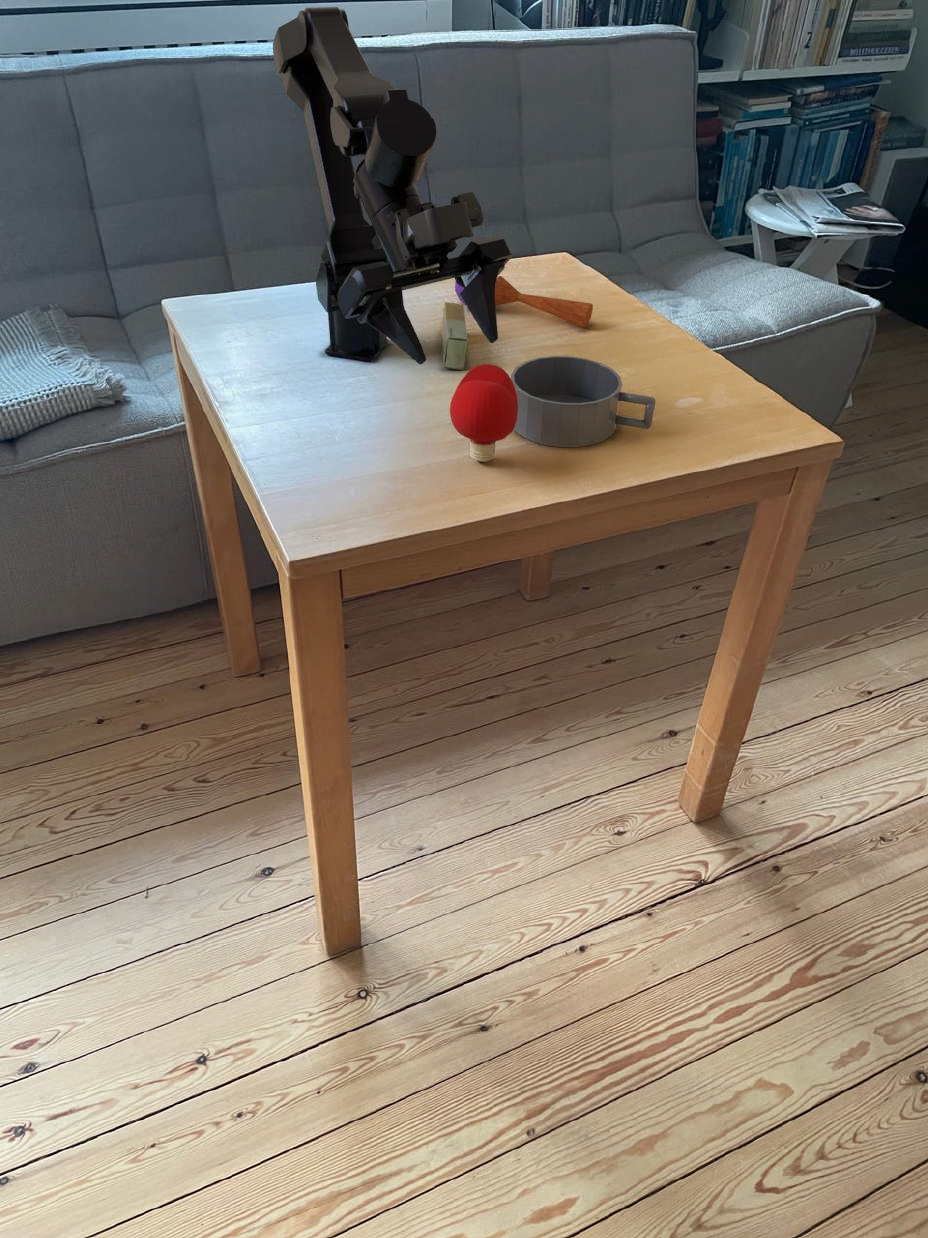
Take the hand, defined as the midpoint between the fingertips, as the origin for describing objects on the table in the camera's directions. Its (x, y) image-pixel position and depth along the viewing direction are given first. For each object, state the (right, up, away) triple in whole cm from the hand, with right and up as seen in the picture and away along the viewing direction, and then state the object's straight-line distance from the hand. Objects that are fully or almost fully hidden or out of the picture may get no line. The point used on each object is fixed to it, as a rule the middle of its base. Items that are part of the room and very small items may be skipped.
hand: (459, 351), depth 96 cm
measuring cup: (+14, -5, +11) cm, 19 cm away
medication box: (-1, +8, +26) cm, 27 cm away
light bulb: (+2, -11, +4) cm, 12 cm away
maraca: (+8, +16, +36) cm, 40 cm away
